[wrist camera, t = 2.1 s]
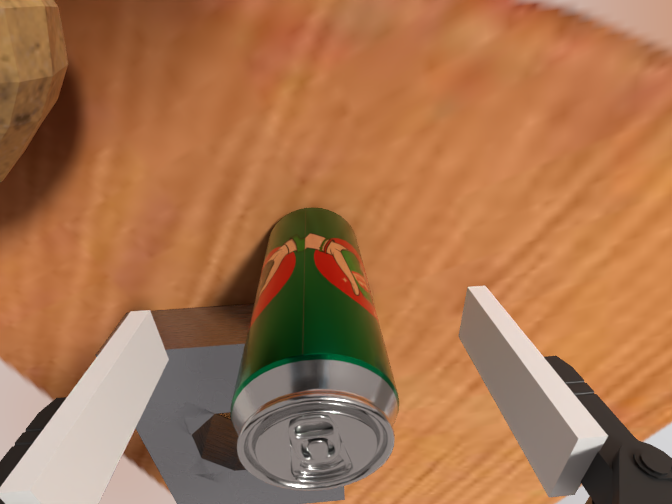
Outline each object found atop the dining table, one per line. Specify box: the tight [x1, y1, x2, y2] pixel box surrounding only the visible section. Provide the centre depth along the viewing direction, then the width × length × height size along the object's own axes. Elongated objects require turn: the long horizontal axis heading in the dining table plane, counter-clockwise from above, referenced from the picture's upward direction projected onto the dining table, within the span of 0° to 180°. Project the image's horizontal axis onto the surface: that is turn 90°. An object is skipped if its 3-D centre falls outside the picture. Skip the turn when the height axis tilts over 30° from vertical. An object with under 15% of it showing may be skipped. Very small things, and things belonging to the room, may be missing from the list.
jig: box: [96, 304, 345, 504], centre depth 24 cm, size 18×13×4 cm
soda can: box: [230, 208, 399, 491], centre depth 14 cm, size 5×5×12 cm
